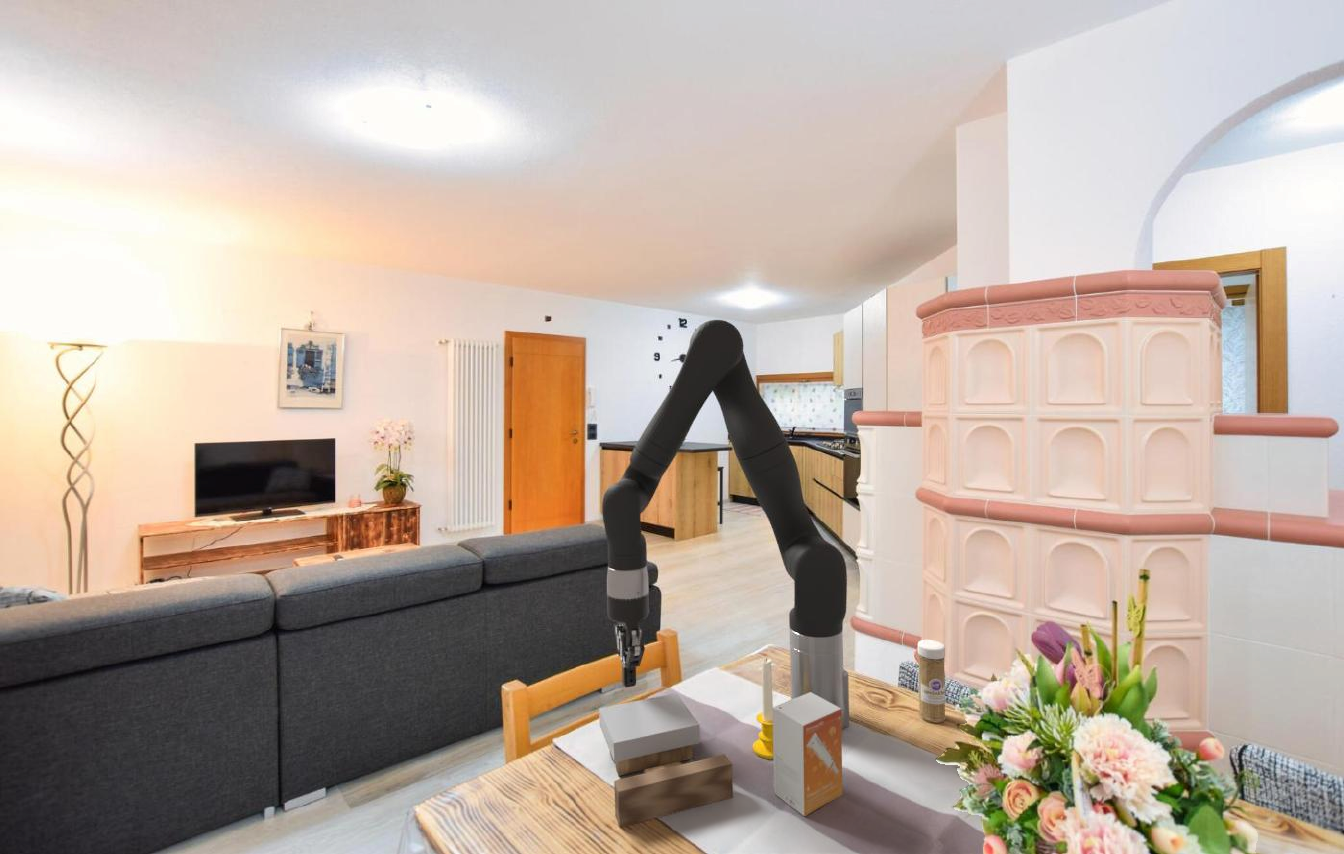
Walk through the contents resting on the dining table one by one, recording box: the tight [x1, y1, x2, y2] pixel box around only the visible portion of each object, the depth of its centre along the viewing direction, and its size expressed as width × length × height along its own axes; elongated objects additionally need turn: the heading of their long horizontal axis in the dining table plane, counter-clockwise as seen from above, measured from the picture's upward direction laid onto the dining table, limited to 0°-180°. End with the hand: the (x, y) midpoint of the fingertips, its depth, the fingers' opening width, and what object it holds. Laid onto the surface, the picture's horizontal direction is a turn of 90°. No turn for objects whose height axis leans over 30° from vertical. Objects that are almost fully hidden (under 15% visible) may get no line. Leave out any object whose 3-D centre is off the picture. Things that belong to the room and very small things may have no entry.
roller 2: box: [643, 761, 683, 774], centre depth 88 cm, size 6×3×3 cm, turn 108°
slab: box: [598, 692, 701, 763], centre depth 95 cm, size 14×11×3 cm
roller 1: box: [615, 745, 694, 776], centre depth 93 cm, size 12×4×4 cm, turn 109°
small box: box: [772, 692, 843, 817], centre depth 85 cm, size 8×6×13 cm
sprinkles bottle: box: [917, 639, 947, 724], centre depth 104 cm, size 5×5×14 cm
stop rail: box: [613, 753, 734, 828], centre depth 83 cm, size 17×2×5 cm, turn 109°
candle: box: [752, 657, 774, 760], centre depth 96 cm, size 5×5×16 cm
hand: (629, 684), depth 105 cm, fingers closed
